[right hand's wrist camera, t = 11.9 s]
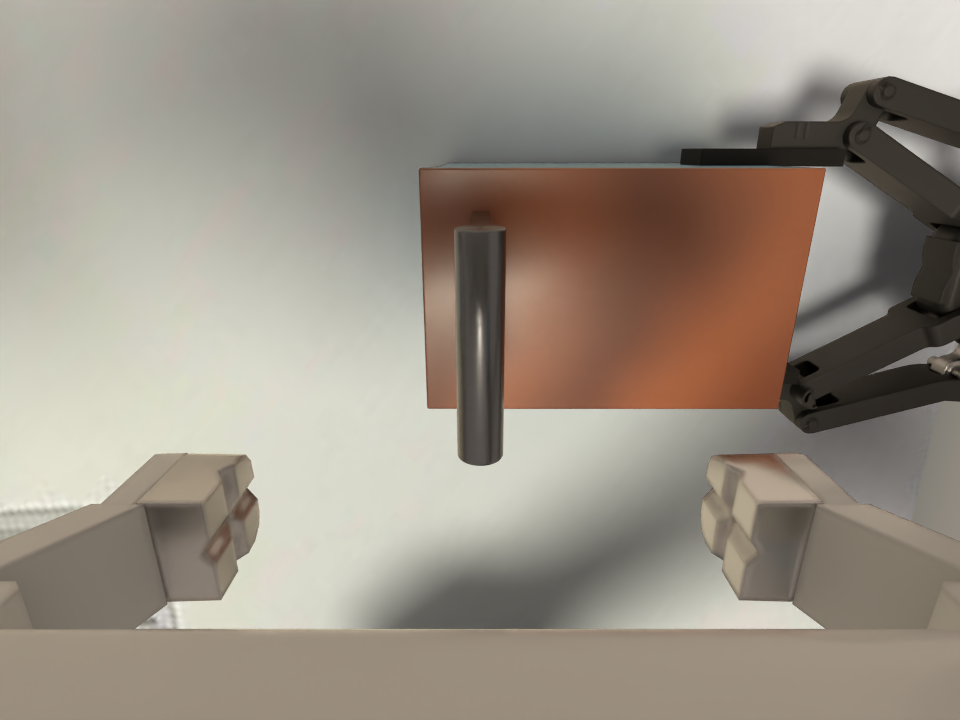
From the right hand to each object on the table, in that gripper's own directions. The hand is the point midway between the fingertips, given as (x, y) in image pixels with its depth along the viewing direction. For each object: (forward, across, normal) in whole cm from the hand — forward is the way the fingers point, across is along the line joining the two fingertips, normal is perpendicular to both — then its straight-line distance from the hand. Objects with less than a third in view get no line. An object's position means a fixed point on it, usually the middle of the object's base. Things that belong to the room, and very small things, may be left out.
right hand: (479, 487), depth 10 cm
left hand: (+20, +10, 0) cm, 22 cm away
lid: (+15, +5, 0) cm, 16 cm away
